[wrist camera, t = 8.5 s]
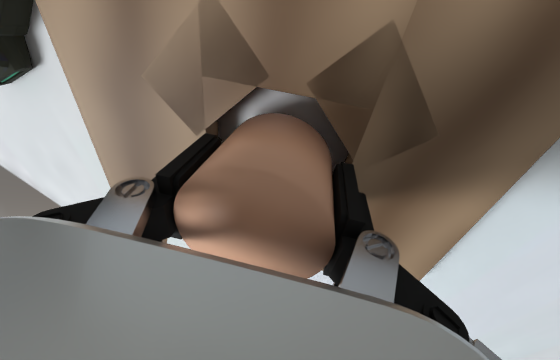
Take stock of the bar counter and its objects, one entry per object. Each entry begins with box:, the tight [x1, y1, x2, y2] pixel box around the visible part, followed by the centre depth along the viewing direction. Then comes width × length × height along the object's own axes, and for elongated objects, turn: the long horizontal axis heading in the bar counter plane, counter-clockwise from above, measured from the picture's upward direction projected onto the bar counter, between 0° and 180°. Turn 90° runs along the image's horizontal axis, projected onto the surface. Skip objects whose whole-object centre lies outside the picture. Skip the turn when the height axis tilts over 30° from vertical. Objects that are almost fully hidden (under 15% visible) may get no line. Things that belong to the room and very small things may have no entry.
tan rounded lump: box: [173, 113, 335, 279], centre depth 10 cm, size 6×6×5 cm
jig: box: [35, 0, 560, 281], centre depth 12 cm, size 22×16×2 cm
